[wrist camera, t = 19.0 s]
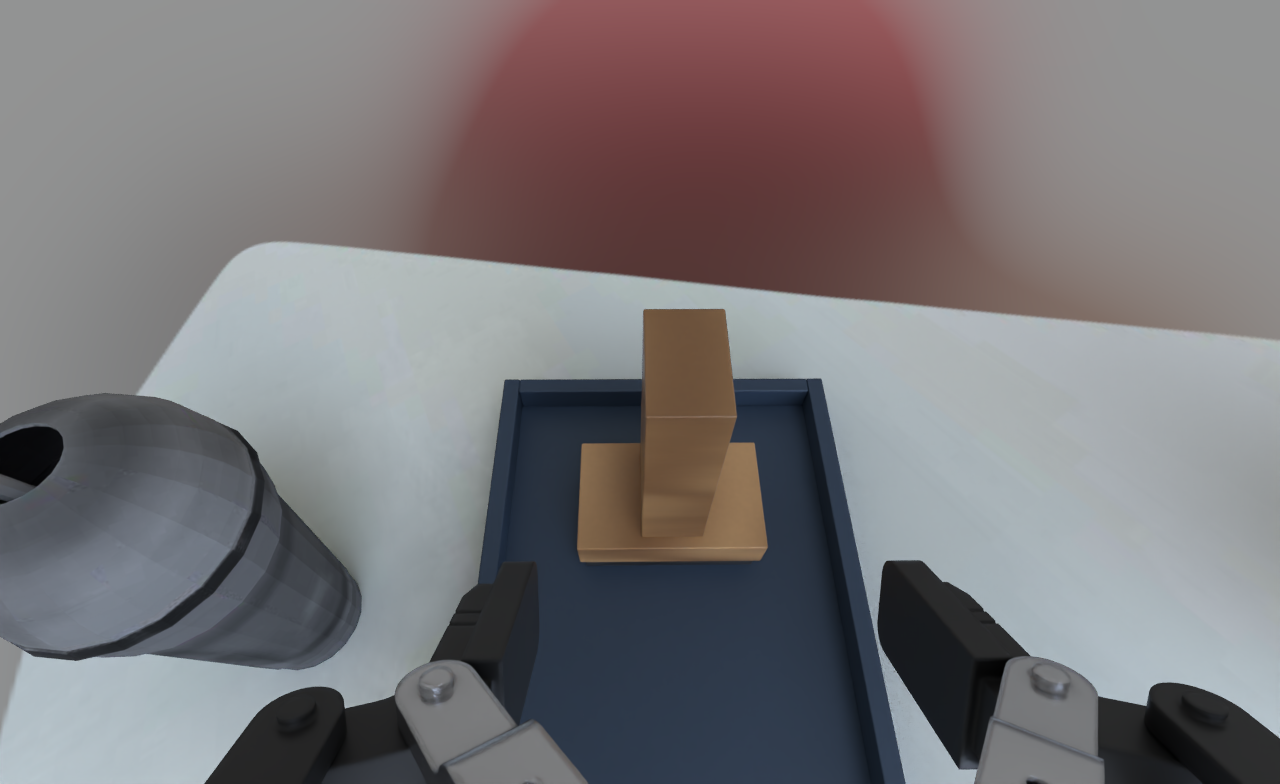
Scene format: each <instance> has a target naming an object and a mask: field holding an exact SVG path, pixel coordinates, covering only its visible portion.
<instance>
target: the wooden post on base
mask: <svg viewBox="0 0 1280 784" xmlns="http://www.w3.org/2000/svg"><path fill="white" fill-rule="evenodd" d="M736 419H737V411H736V402H735V393H734V385H733V376H732V367H731V358H730V350H729V341H728V332H727V323H726V314H725V310H724V309H645V310H644V311H643V353H642V398H641V443H595V444H582V447H581V469H580V490H579V512H578V534H577V551H578V555H579V559H580V562H586V565H587V566H630V565H745V564H751V563H752V562H753V561H760V560H761V558H762V557H763V555H764V553H765V552H766V550H767V548H768V544H767V536H766V529H765V521H764V513H763V505H762V497H761V490H760V482H759V474H758V466H757V458H756V451H755V444H754V443H730V440H731V436H732V433H733V429H734V426H735V422H736Z"/></svg>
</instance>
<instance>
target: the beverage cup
mask: <svg viewBox="0 0 1280 784" xmlns="http://www.w3.org/2000/svg"><path fill="white" fill-rule="evenodd" d="M360 613H361V594H360V591H359V588H358V585H357V583H356V581H355V580H354V579H353V578H352V577H351V576H350V575H349V573H348V571H347V569H346V568H345V567H344V566H343V565H342V563H341V562H340V561H339V560H338V559H337V558H336V557H335V556H334V555H333V553H332V552H331V551H330V550H329V549H328V548H327V547H326V546H325V545H324V544H323V543H322V542H321V540H320V539H319V538H318V537H317V536H316V535H315V534H314V533H313V532H312V531H311V530H310V528H309V527H308V526H307V525H306V524H305V523H304V522H303V521H302V520H301V519H300V518H299V517H298V515H297V514H296V513H295V512H294V511H293V510H292V509H291V508H290V507H289V506H288V505H287V503H286V502H285V501H284V500H283V499H282V498H281V497H280V496H279V495H278V494H277V492H276V488H275V485H274V484H273V482H272V480H271V479H270V477H269V475H268V474H267V472H266V470H265V469H264V467H263V466H262V465H261V464H260V462H259V458H258V455H257V452H256V451H255V450H254V449H253V447H252V446H251V445H250V444H249V443H248V442H247V441H246V440H245V439H244V437H243V436H242V435H241V434H240V433H239V432H238V431H237V430H234V429H232V428H230V427H228V426H225V425H223V424H221V423H219V422H216V421H215V420H213V419H210V418H208V417H206V416H204V415H201V414H199V413H197V412H195V411H192V410H190V409H188V408H186V407H183V406H181V405H179V404H177V403H174V402H172V401H168V400H164V399H160V398H156V397H147V396H135V395H122V394H108V393H103V394H94V395H86V396H79V397H74V398H68V399H62V400H56V401H53V402H50V403H47V404H44V405H41V406H38V407H36V408H33V409H31V410H28V411H25V412H23V413H20V414H17V415H15V416H12V417H11V418H9V419H7V420H6V421H4V422H3V423H0V637H2V638H3V639H5V640H7V641H9V642H11V643H12V644H14V645H16V646H17V647H19V648H21V649H22V650H24V651H26V652H27V653H29V654H31V655H32V656H35V657H45V658H54V659H64V660H74V661H78V660H82V659H87V658H92V657H126V656H138V655H142V654H153V655H161V656H169V657H177V658H185V659H193V660H201V661H210V662H218V663H226V664H234V665H242V666H250V667H259V668H268V669H278V670H279V669H292V670H300V669H305V668H309V667H313V666H316V665H318V664H320V663H322V662H323V661H325V660H327V659H329V658H331V657H332V656H333V655H334V654H335V653H336V652H337V651H338V650H340V649H341V648H342V647H343V646H344V645H345V644H346V642H347V641H348V639H349V638H350V636H351V635H352V633H353V632H354V630H355V628H356V626H357V623H358V619H359V616H360Z"/></svg>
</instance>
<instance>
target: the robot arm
mask: <svg viewBox="0 0 1280 784" xmlns="http://www.w3.org/2000/svg"><path fill="white" fill-rule="evenodd" d="M878 635H879V640H880V643H881V646H882V649H883V651H884V652H885V654H886V656H887V657H888V659H889V660H890V662H891V663H892V665H893V667H894V668H895V670H896V671H897V673H898V674H899V676H900V678H901V679H902V681H903V682H904V684H905V685H906V687H907V689H908V690H909V692H910V693H911V695H912V696H913V698H914V699H915V701H916V703H917V704H918V706H919V707H920V709H921V710H922V712H923V714H924V715H925V717H926V718H927V720H928V721H929V723H930V725H931V726H932V728H933V729H934V731H935V732H936V734H937V736H938V737H939V739H940V740H941V742H942V743H943V745H944V747H945V748H946V750H947V751H948V753H949V754H950V756H951V757H952V759H953V761H954V762H955V764H956V765H957V767H958V768H959V769H978V770H977V774H976V778H975V782H974V784H1280V738H1279V737H1277V736H1276V735H1275V734H1273V733H1272V732H1271V731H1270V730H1268V729H1267V728H1266V727H1265V726H1263V725H1262V724H1261V723H1259V722H1258V721H1257V720H1256V719H1254V718H1253V717H1252V716H1251V715H1249V714H1248V713H1247V712H1245V711H1244V710H1243V709H1241V708H1240V707H1238V706H1237V705H1235V704H1233V703H1232V702H1230V701H1228V700H1226V699H1224V698H1222V697H1220V696H1218V695H1216V694H1213V693H1211V692H1208V691H1206V690H1203V689H1200V688H1197V687H1193V686H1189V685H1185V684H1179V683H1159V684H1156V685H1154V686H1152V687H1151V689H1150V691H1149V696H1148V701H1147V706H1143V705H1138V704H1133V703H1128V702H1123V701H1118V700H1113V699H1108V698H1103V697H1099V696H1098V694H1097V691H1096V689H1095V688H1094V687H1093V685H1092V684H1091V683H1090V682H1089V681H1088V680H1087V679H1086V678H1084V677H1083V676H1082V675H1080V674H1079V673H1077V672H1076V671H1074V670H1072V669H1070V668H1069V667H1066V666H1064V665H1062V664H1060V663H1057V662H1054V661H1051V660H1048V659H1044V658H1039V657H1032V656H1030V655H1029V654H1028V653H1027V652H1026V651H1025V650H1024V649H1023V648H1022V647H1021V646H1020V645H1019V644H1018V643H1017V642H1016V641H1015V640H1014V639H1013V638H1012V637H1011V636H1010V635H1009V634H1008V633H1007V632H1006V631H1005V630H1004V629H1003V628H1002V627H1001V626H1000V625H999V624H996V623H995V620H994V619H993V618H992V617H991V616H990V615H989V614H988V613H987V612H984V611H983V608H982V607H981V606H980V605H979V604H978V603H977V602H976V601H975V600H974V599H973V598H972V597H971V596H970V595H969V594H967V593H965V592H964V591H962V590H960V589H959V588H957V587H955V586H953V585H952V584H950V583H948V582H942V581H941V580H940V579H939V578H938V577H937V576H936V575H935V574H934V573H933V572H932V571H931V570H930V569H929V568H928V566H927V565H926V564H925V563H924V562H922V561H919V560H911V561H886V562H885V564H884V566H883V570H882V580H881V590H880V601H879V612H878ZM538 643H539V599H538V573H537V564H536V562H535V561H521V562H503V563H502V565H501V567H500V570H499V572H498V574H497V576H496V579H495V581H494V583H493V584H477V585H476V586H475V587H474V588H473V589H471V590H470V591H469V592H468V593H466V594H465V595H464V596H463V597H462V599H461V601H460V603H459V605H458V607H457V609H456V613H455V614H454V615H453V617H452V619H451V621H450V624H449V626H448V627H447V629H446V631H445V633H444V635H443V637H442V638H441V640H440V642H439V644H438V646H437V648H436V650H435V652H434V654H433V656H432V658H431V660H430V662H429V663H427V664H425V665H422V666H420V667H418V668H416V669H414V670H413V671H411V672H410V673H408V674H407V675H406V676H405V677H404V678H403V679H402V680H401V681H400V682H399V684H398V686H397V688H396V691H395V695H394V696H392V697H389V698H387V699H384V700H380V701H376V702H372V703H368V704H363V705H359V706H355V707H350V708H346V709H345V708H344V700H343V697H342V695H341V694H340V693H339V692H338V691H336V690H335V689H332V688H328V687H309V688H304V689H300V690H296V691H293V692H290V693H288V694H285V695H283V696H281V697H279V698H277V699H276V700H274V701H272V702H271V703H269V704H268V705H266V706H265V707H264V708H263V709H262V710H260V711H259V712H258V713H257V715H256V716H255V717H254V718H253V719H252V721H251V722H250V723H249V725H248V726H247V727H246V729H245V730H244V731H243V733H242V734H241V735H240V737H239V738H238V739H237V741H236V742H235V743H234V745H233V746H232V747H231V749H230V750H229V751H228V753H227V754H226V755H225V757H224V758H223V760H222V761H221V762H220V764H219V765H218V766H217V768H216V769H215V770H214V772H213V773H212V774H211V776H210V777H209V778H208V780H207V781H206V782H205V784H589V783H588V782H587V781H586V779H585V778H584V777H583V776H582V775H581V773H580V772H579V771H578V770H577V768H576V767H575V766H574V765H573V764H572V762H571V761H570V760H569V759H568V757H567V756H566V755H565V754H564V753H563V751H562V750H561V749H560V748H559V746H558V745H557V744H556V743H555V742H554V740H553V739H552V738H551V737H550V735H549V734H548V733H547V732H546V731H545V729H544V728H543V727H542V726H541V725H540V724H539V722H537V721H536V720H534V719H529V720H527V721H525V722H523V723H522V724H520V720H521V716H522V712H523V708H524V704H525V699H526V695H527V691H528V687H529V683H530V679H531V675H532V671H533V667H534V663H535V659H536V655H537V650H538ZM519 724H520V725H519Z"/></svg>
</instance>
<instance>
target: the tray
mask: <svg viewBox="0 0 1280 784" xmlns="http://www.w3.org/2000/svg"><path fill="white" fill-rule="evenodd" d="M733 385H734V393H735V402H736V411H737V419H736V422H735V426H734V429H733V433H732V436H731V440H730V443H754V444H755V451H756V458H757V466H758V474H759V482H760V490H761V497H762V505H763V513H764V521H765V529H766V536H767V544H768V548H767V550H766V552H765V553H764V555H763V557H762V558H761V560H760V561H753V562H752V563H751V564H745V565H630V566H587V565H586V562H580V559H579V555H578V551H577V534H578V512H579V490H580V469H581V447H582V444H595V443H641V398H642V379H599V380H521V381H520V380H505V383H504V390H503V398H502V405H501V413H500V420H499V428H498V435H497V443H496V450H495V458H494V465H493V473H492V480H491V488H490V495H489V503H488V510H487V518H486V526H485V533H484V541H483V548H482V556H481V563H480V571H479V578H478V584H493V583H494V581H495V579H496V576H497V574H498V572H499V570H500V567H501V565H502V563H503V562H521V561H535V562H536V564H537V573H538V599H539V643H538V650H537V655H536V659H535V663H534V667H533V671H532V675H531V679H530V683H529V687H528V691H527V695H526V699H525V704H524V708H523V712H522V716H521V720H520V724H522V723H523V722H525V721H527V720H529V719H534V720H536V721H537V722H539V724H540V725H541V726H542V727H543V728H544V729H545V731H546V732H547V733H548V734H549V735H550V737H551V738H552V739H553V740H554V742H555V743H556V744H557V745H558V746H559V748H560V749H561V750H562V751H563V753H564V754H565V755H566V756H567V757H568V759H569V760H570V761H571V762H572V764H573V765H574V766H575V767H576V768H577V770H578V771H579V772H580V773H581V775H582V776H583V777H584V778H585V779H586V781H587V782H588V783H589V784H905V779H904V774H903V770H902V765H901V760H900V755H899V750H898V745H897V741H896V736H895V731H894V726H893V721H892V717H891V712H890V707H889V702H888V697H887V692H886V688H885V683H884V678H883V673H882V668H881V664H880V659H879V654H878V649H877V644H876V640H875V635H874V630H873V625H872V620H871V615H870V611H869V606H868V601H867V596H866V591H865V587H864V582H863V577H862V572H861V567H860V563H859V558H858V553H857V548H856V543H855V538H854V534H853V529H852V524H851V519H850V514H849V510H848V505H847V500H846V495H845V490H844V485H843V481H842V476H841V471H840V466H839V461H838V457H837V452H836V447H835V442H834V437H833V433H832V428H831V423H830V418H829V413H828V408H827V404H826V399H825V394H824V389H823V384H822V380H821V379H807V380H806V379H733ZM520 724H519V725H520Z"/></svg>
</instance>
